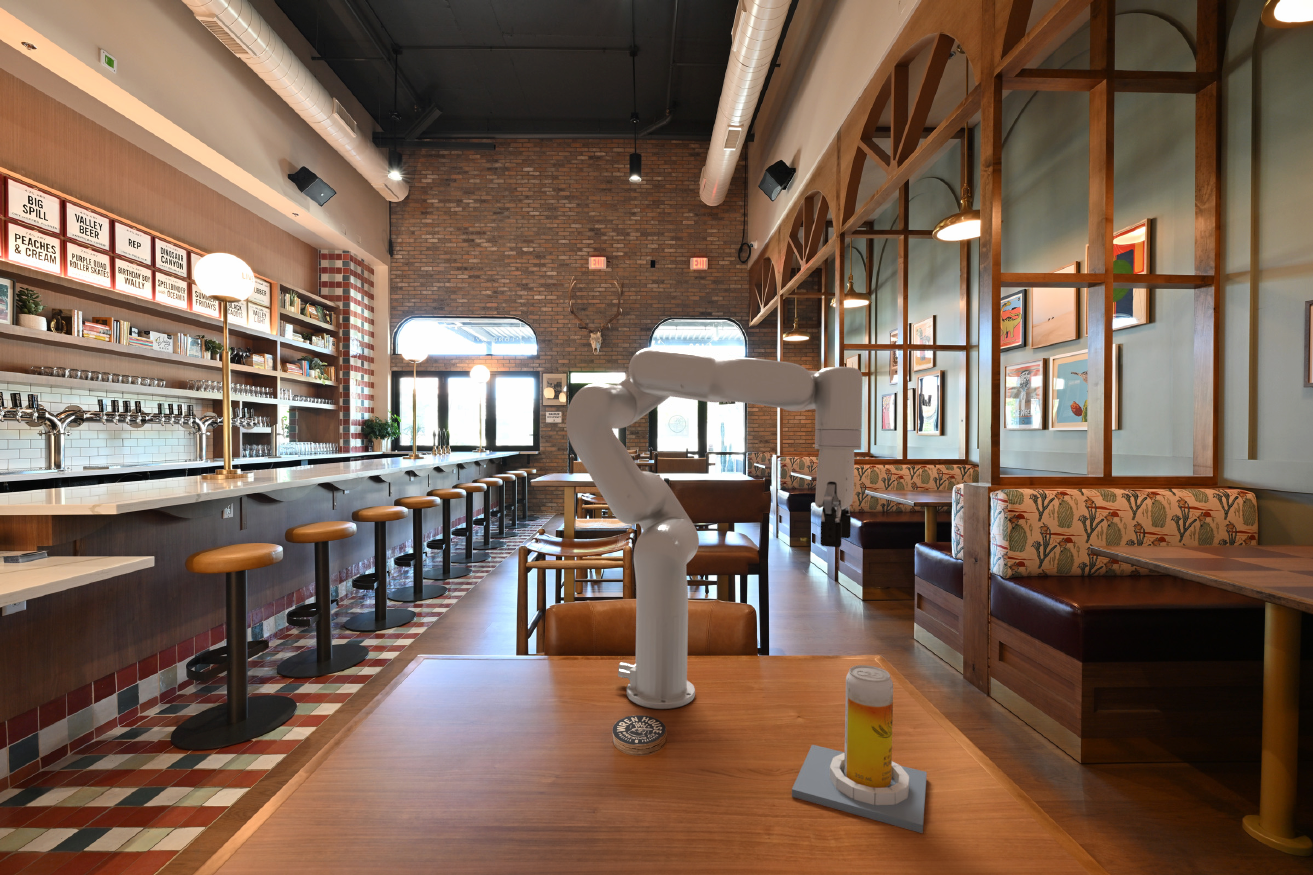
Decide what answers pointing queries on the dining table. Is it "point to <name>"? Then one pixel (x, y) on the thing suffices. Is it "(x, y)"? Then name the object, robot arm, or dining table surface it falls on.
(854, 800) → the base board
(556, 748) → the dining table surface
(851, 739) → the beer can
